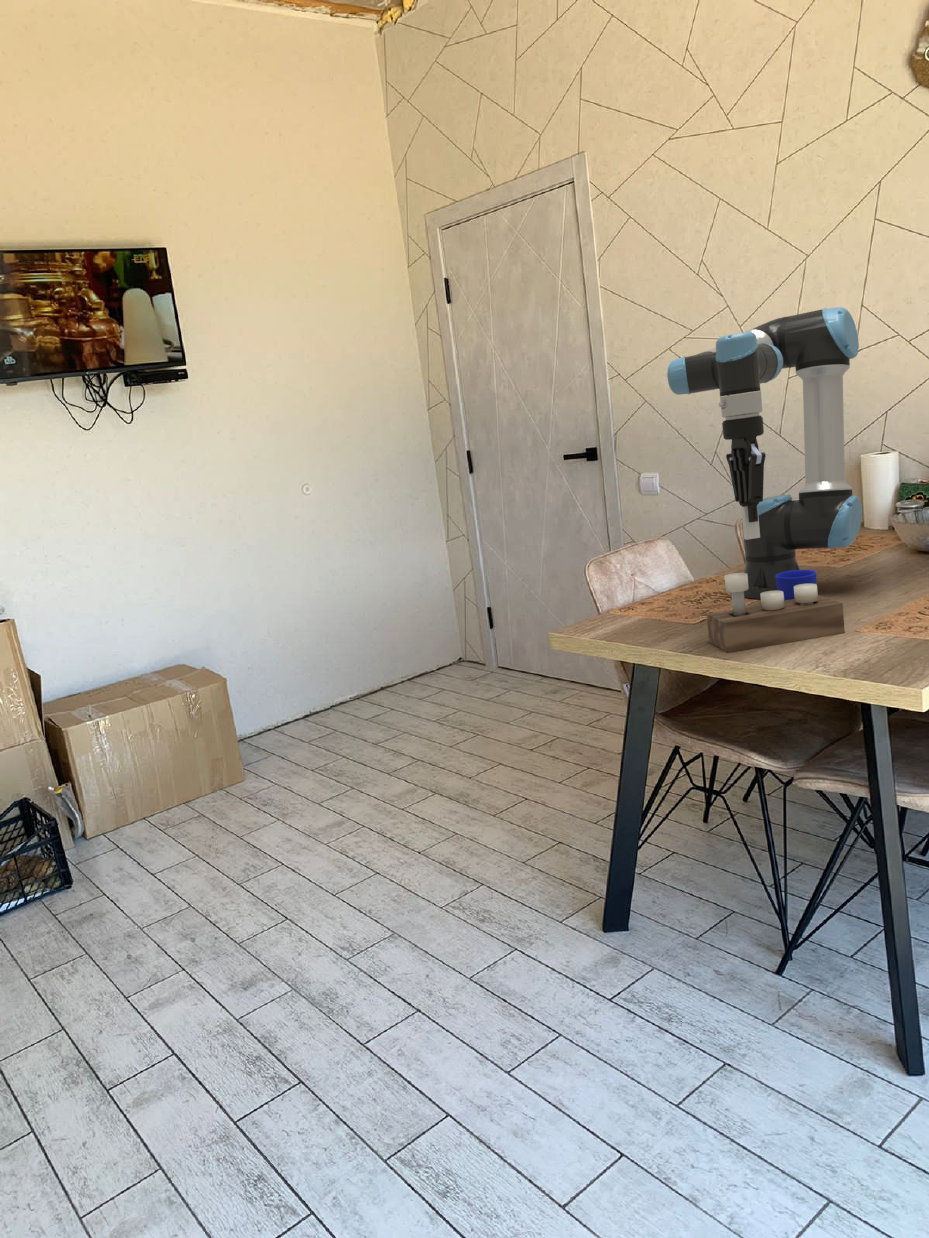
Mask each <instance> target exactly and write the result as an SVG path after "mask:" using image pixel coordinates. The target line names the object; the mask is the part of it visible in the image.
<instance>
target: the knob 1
mask: <svg viewBox="0 0 929 1238" xmlns="http://www.w3.org/2000/svg"><path fill="white" fill-rule="evenodd" d="M723 577H724V583H725V584H724V586H725V592H726V593H731V603H732V609H733V617H739V616H744V615H746V611H745V607H746V601H745V597H744V591H746V590H748V589H749V586H748V575H747V573H744V572H735V573H728V574H725V575H724V576H723Z"/></svg>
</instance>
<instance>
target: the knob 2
mask: <svg viewBox="0 0 929 1238" xmlns="http://www.w3.org/2000/svg"><path fill="white" fill-rule="evenodd" d="M760 596H761V599H760V605H761V607H762V609H763V610H767V611H774V610H780V609H782V608H784V607H785V605H784V593H783V591H766V592H762V593H761V594H760Z"/></svg>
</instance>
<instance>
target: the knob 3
mask: <svg viewBox="0 0 929 1238" xmlns="http://www.w3.org/2000/svg"><path fill="white" fill-rule="evenodd" d="M818 595H819V594H818V585H817V583H816V584H810V583H809V584H799V585H795V586H794V597H795V602H797V603H800V605H802V606H803V605H809V604H813V602H815V601H817V600H818Z"/></svg>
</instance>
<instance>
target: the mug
mask: <svg viewBox="0 0 929 1238" xmlns="http://www.w3.org/2000/svg"><path fill="white" fill-rule="evenodd" d="M775 577H776V583H777V589H778V591H783V593H784V601H785V600H791V599H795V597H794V586H795V585H799V584H809V583H810V584H817V571H816V570H812V569H800V570H792V571H786V572H781V573H778V574H777V575H776V576H775Z"/></svg>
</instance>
